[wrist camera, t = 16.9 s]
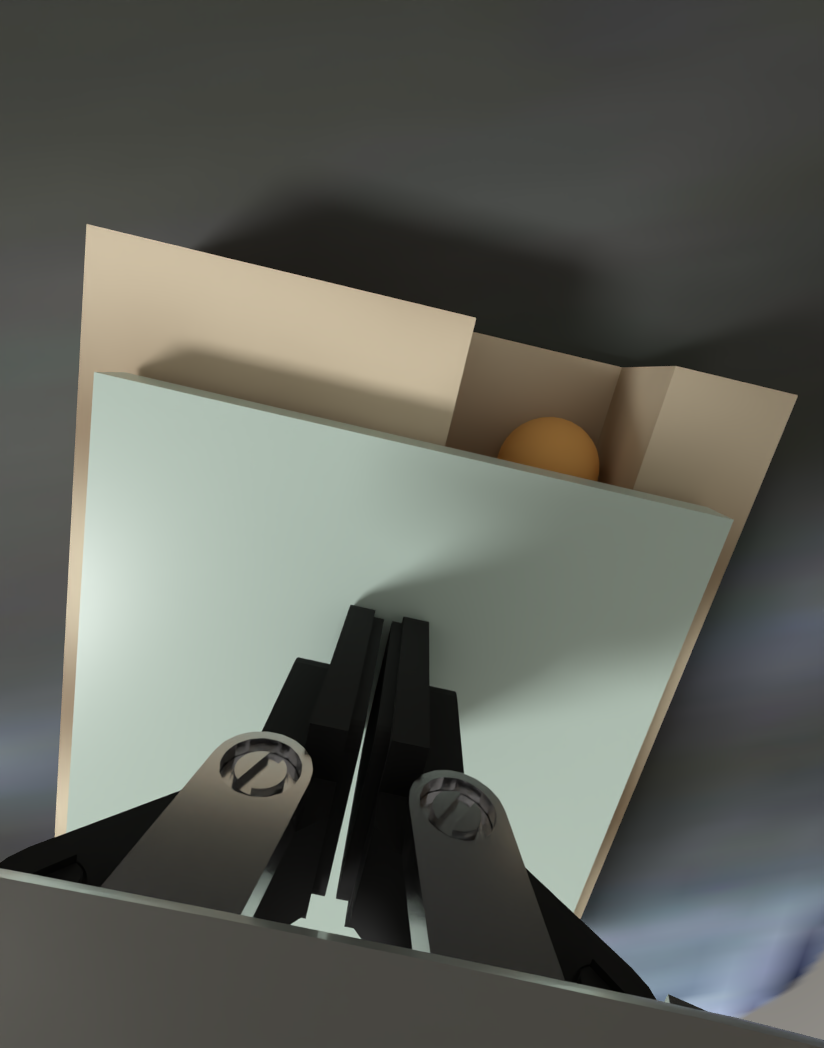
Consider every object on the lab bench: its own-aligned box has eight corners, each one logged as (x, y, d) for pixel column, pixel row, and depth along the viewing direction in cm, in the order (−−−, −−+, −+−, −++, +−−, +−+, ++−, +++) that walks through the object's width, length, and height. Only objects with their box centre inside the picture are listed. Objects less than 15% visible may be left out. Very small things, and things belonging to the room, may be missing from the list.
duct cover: (124, 372, 11) (93, 371, 10) (707, 506, 11) (733, 519, 10) (76, 1006, 15) (53, 1048, 14) (481, 1083, 16) (485, 1129, 15)
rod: (513, 405, 14) (508, 407, 12) (606, 427, 13) (621, 433, 11) (395, 839, 18) (374, 904, 15) (465, 865, 17) (454, 937, 15)
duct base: (172, 261, 13) (86, 223, 10) (707, 389, 14) (798, 395, 10) (115, 871, 19) (47, 979, 15) (501, 947, 19) (517, 1069, 16)
